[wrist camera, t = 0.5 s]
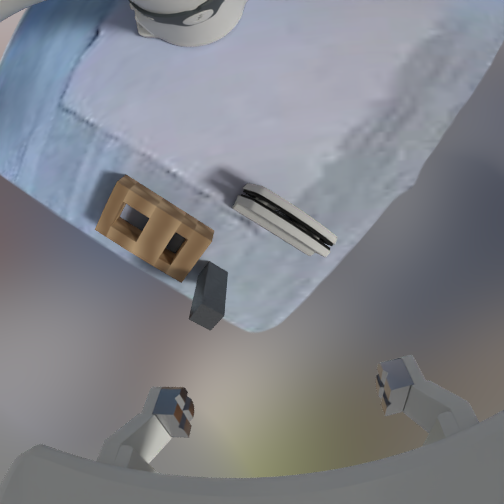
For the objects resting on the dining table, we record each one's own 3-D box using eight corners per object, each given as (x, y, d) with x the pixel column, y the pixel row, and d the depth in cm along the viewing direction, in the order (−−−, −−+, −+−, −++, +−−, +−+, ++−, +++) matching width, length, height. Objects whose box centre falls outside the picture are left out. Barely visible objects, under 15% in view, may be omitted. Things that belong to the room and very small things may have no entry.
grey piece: (229, 206, 48) (239, 211, 39) (244, 182, 48) (258, 181, 38) (307, 255, 53) (332, 270, 44) (321, 233, 53) (349, 243, 43)
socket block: (104, 220, 49) (94, 229, 45) (126, 174, 45) (117, 181, 41) (185, 270, 54) (181, 282, 51) (214, 230, 50) (211, 241, 47)
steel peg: (198, 276, 55) (188, 319, 44) (209, 261, 53) (201, 303, 43) (216, 286, 56) (210, 330, 46) (227, 272, 55) (224, 315, 44)
